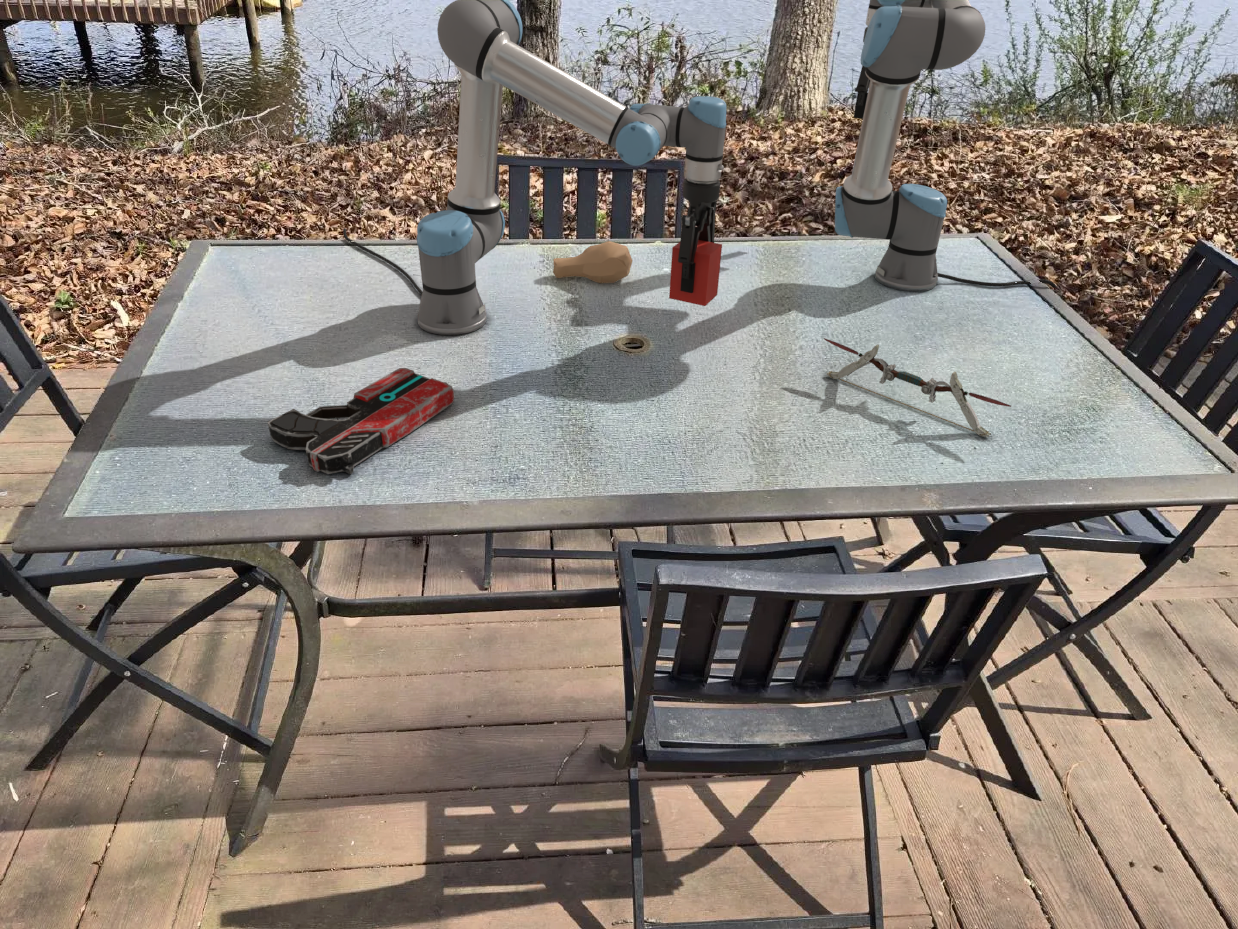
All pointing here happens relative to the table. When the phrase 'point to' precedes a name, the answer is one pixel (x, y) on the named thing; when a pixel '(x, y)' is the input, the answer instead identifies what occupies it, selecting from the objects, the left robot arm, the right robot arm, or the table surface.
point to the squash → (596, 263)
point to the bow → (927, 387)
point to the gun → (362, 421)
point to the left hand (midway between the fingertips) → (693, 284)
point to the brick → (697, 274)
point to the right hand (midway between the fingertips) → (865, 113)
